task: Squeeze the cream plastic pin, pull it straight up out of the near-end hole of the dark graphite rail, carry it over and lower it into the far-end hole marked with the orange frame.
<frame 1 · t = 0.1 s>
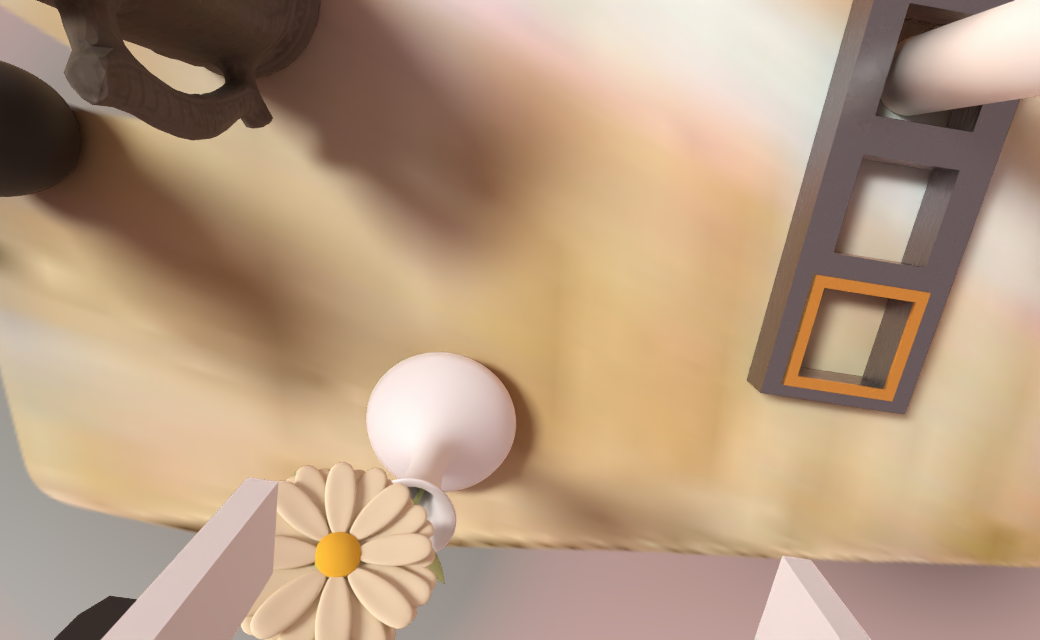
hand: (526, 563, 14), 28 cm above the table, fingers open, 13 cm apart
flower in vase: (437, 405, 43), on the table
rail: (872, 210, 39), on the table
pin: (914, 76, 37), resting in rail
cola bottle: (36, 132, 38), on the table
beer stein: (258, 29, 37), on the table
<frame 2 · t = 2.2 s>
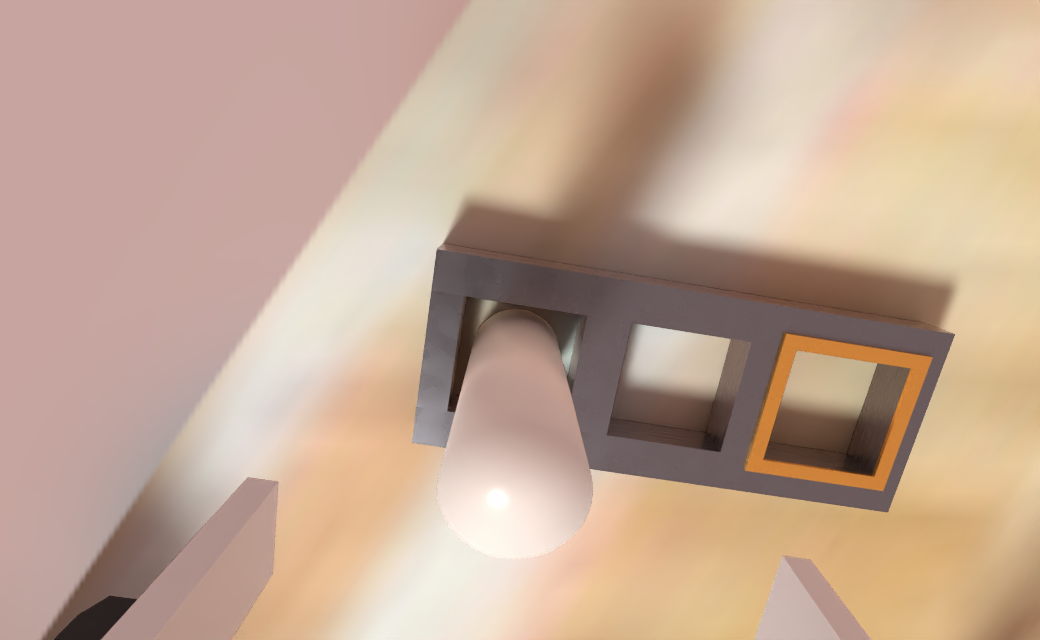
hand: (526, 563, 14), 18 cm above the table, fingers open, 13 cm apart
rail: (665, 374, 33), on the table
pin: (515, 350, 32), resting in rail
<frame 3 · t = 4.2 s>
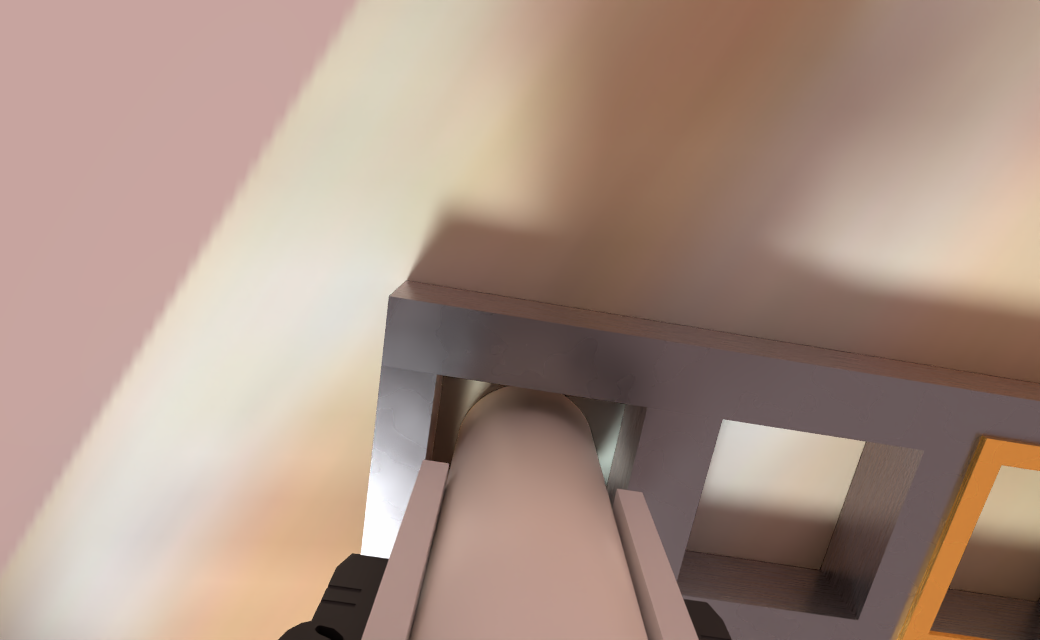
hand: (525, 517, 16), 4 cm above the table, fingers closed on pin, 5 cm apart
rail: (761, 483, 21), on the table
pin: (524, 448, 20), resting in rail, touching gripper
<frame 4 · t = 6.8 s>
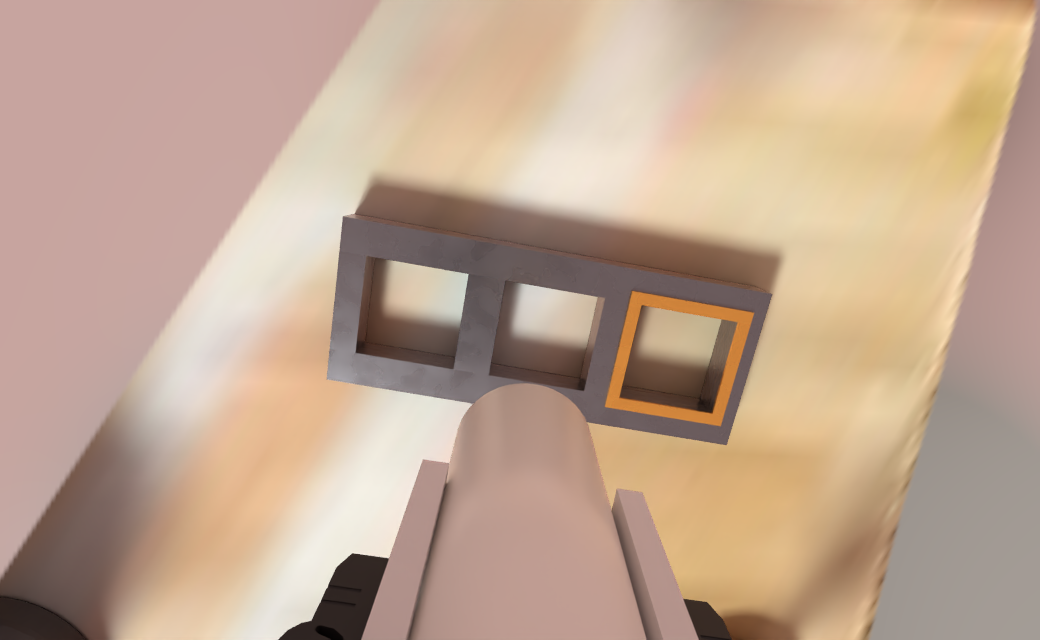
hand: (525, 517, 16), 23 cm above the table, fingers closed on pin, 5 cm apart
rail: (543, 327, 39), on the table
pin: (523, 447, 20), point 19 cm above the table, touching gripper
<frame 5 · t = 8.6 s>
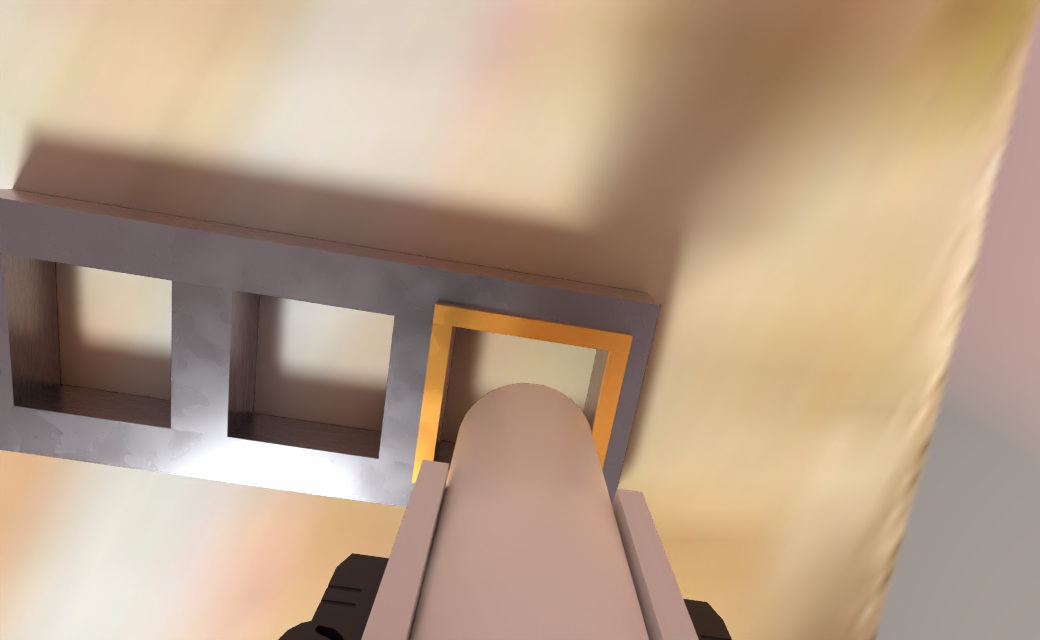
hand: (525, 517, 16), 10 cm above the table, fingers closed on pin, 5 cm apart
rail: (328, 359, 26), on the table
pin: (524, 447, 20), point 6 cm above the table, touching gripper
when the fingers open (5 cm above the table, at t = 9.9 s): pin stays where it is, resting in rail.
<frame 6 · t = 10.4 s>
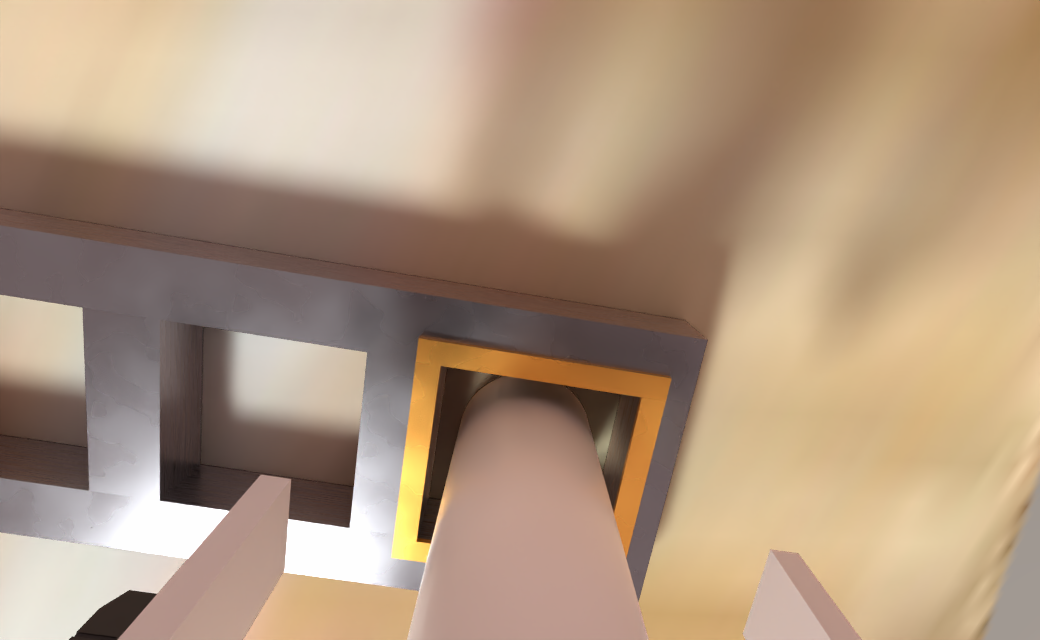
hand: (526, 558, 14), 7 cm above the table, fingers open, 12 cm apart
rail: (290, 399, 21), on the table
pin: (524, 434, 21), resting in rail
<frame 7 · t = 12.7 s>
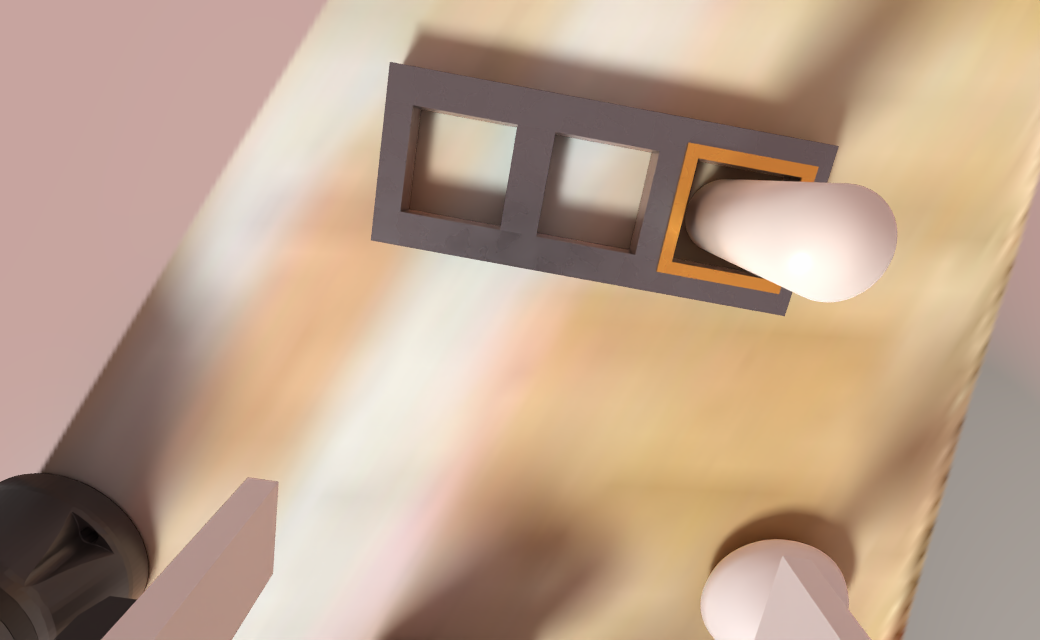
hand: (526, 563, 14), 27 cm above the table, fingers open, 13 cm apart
flower in vase: (755, 589, 46), on the table
rail: (592, 193, 38), on the table
pin: (721, 216, 38), resting in rail
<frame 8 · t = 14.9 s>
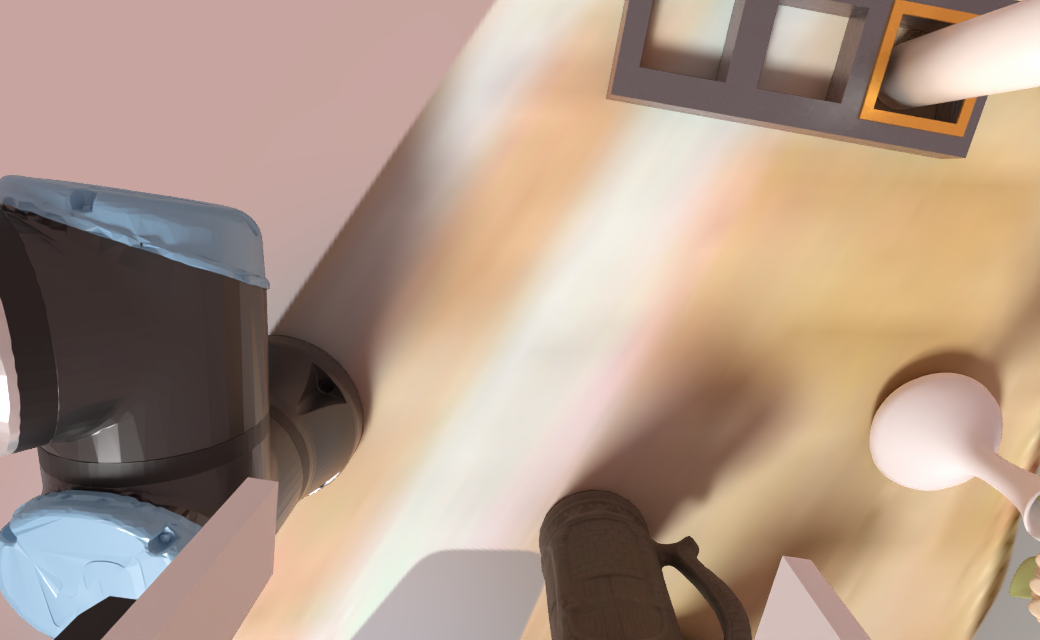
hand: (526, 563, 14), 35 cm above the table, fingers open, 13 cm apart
flower in vase: (911, 428, 51), on the table
rail: (795, 56, 43), on the table
pin: (905, 75, 43), resting in rail
beer stein: (615, 528, 54), on the table
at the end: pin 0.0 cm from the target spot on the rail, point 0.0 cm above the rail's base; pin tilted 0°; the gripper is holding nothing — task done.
